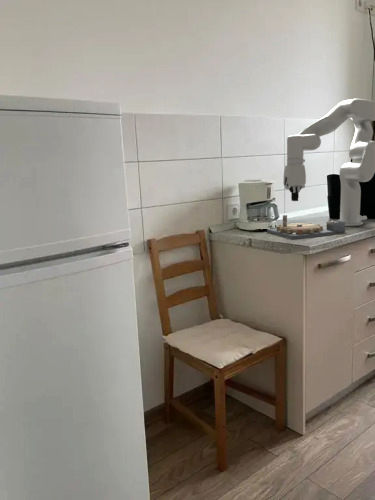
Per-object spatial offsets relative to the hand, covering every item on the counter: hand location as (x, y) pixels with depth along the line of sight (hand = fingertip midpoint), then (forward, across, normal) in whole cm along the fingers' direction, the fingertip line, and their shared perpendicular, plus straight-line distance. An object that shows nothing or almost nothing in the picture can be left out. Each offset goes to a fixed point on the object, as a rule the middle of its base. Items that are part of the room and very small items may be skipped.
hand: (294, 200), depth 207 cm
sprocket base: (+15, +2, +6) cm, 16 cm away
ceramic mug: (+15, +8, -12) cm, 21 cm away
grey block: (+15, -14, +13) cm, 24 cm away
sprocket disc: (+13, +2, +6) cm, 15 cm away
